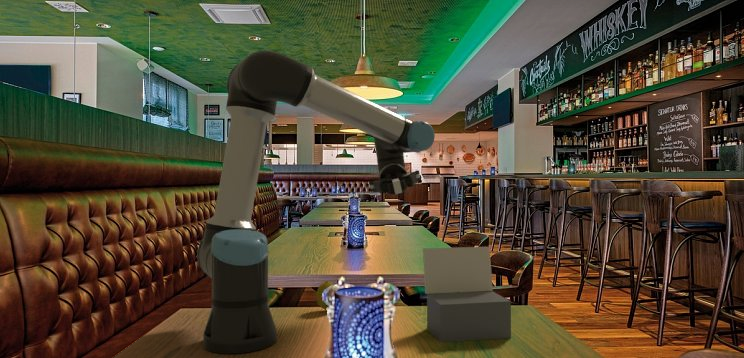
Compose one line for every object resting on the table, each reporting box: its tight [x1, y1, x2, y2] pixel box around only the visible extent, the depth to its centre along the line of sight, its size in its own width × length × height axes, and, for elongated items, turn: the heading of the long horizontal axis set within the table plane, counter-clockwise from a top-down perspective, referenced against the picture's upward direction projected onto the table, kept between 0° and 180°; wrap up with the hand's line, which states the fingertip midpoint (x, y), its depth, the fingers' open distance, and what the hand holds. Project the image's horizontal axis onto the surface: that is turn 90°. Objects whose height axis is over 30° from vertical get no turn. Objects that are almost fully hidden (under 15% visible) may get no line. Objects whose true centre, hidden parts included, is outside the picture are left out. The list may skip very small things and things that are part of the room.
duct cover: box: [422, 246, 494, 295], centre depth 119 cm, size 16×10×1 cm
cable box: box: [426, 290, 512, 343], centre depth 113 cm, size 16×10×8 cm, turn 100°
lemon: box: [316, 280, 335, 311], centre depth 132 cm, size 6×6×8 cm
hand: (397, 187), depth 108 cm, fingers closed
